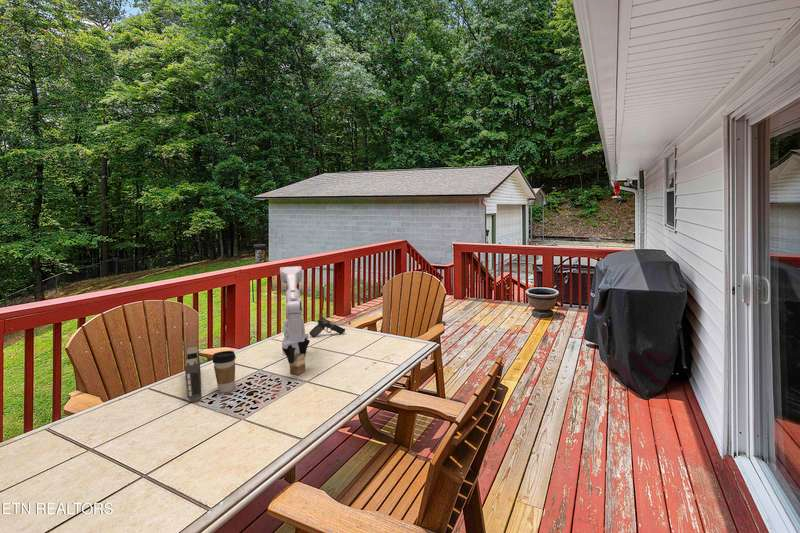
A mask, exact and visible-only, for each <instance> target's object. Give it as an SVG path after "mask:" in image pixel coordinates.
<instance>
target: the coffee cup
mask: <svg viewBox="0 0 800 533" xmlns="http://www.w3.org/2000/svg"><path fill="white" fill-rule="evenodd" d="M211 361H212V363H213V368H214V370H213V371H214V374H215V380H216V384H217V390H218V392H219V393H221V394H223V393H224V394H225V393H230V392H232V391H234V390H236V389H235V387H236V384H235V383H236V354H235V351H234V350H233V351H232V350H223V351H219V352H215V353H213V354H212V360H211Z"/></svg>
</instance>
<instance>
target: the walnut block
mask: <svg viewBox="0 0 800 533" xmlns="http://www.w3.org/2000/svg"><path fill="white" fill-rule="evenodd" d="M305 371H306V362H305V363H304V364H302V365H300V366H299V367H296V366H290V365H289V373H290V374H291V375H296V376H300V375H301V374H303V373H305ZM300 377H301V376H300Z"/></svg>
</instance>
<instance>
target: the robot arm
mask: <svg viewBox="0 0 800 533" xmlns="http://www.w3.org/2000/svg"><path fill="white" fill-rule="evenodd" d="M279 273H280V274H279V275H280V278H279V279H280V282H281V284H285V287H286V289H287V290H286V292H285V297H286V303H285V312H286V319H285V320H283V336H284V337H283V339H282V342H281V344H282V345H281V350H282V354H281V356H286V358H287V361H288V364H289V363H294V353H300V354H304V357H305V358H306V354H307V353H308V352H307V350H308V346H309V344H310V342H311V341H310V339H309V333H306V328H305V320H304V319H303V316H302V314H303V301H302V298H301V294H300V290H299V289H298V288H297V285H298V284H299V283H301V282H302V280H303V269H302V266H301V265H299V266H295V265H294V266H280V268H279Z"/></svg>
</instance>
